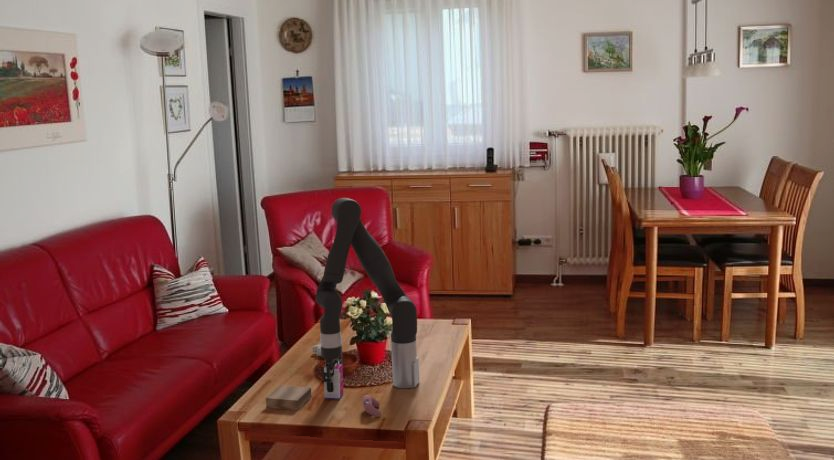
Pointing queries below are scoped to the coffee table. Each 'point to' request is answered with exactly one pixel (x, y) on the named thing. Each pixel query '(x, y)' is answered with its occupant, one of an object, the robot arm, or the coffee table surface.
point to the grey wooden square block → (288, 397)
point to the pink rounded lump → (371, 405)
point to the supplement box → (335, 384)
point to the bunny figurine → (317, 349)
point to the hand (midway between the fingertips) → (333, 388)
